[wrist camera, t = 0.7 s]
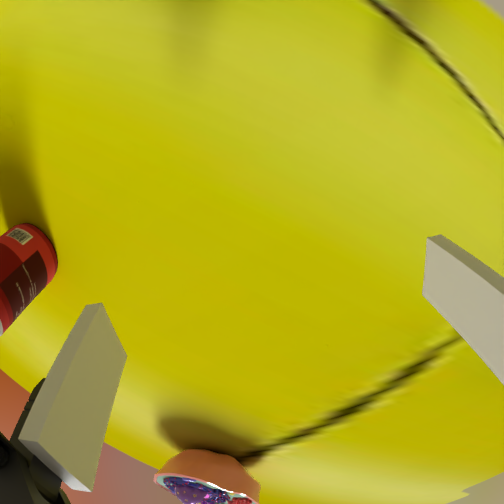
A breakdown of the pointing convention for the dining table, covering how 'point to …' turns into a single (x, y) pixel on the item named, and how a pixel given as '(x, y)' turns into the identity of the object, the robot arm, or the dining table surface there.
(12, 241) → the canned food
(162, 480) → the cell model
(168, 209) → the dining table surface
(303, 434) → the dining table surface
